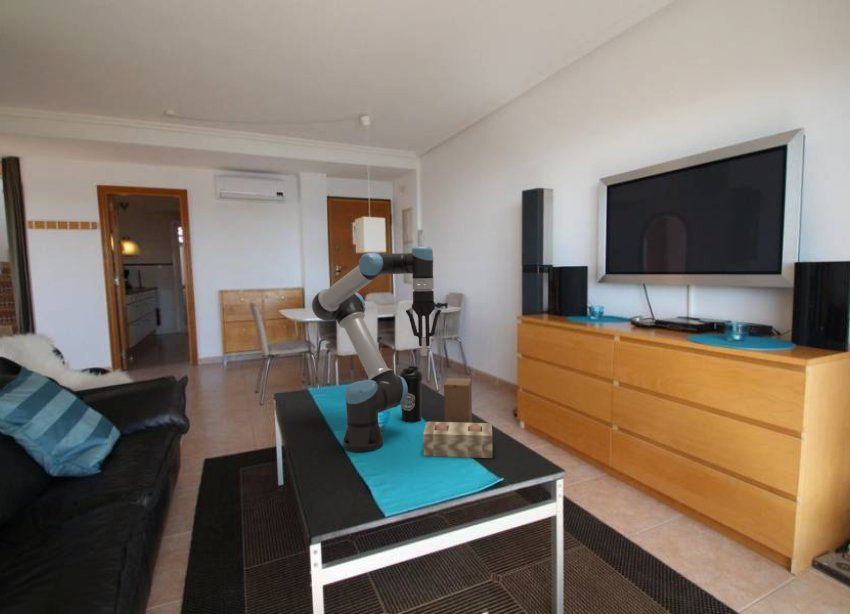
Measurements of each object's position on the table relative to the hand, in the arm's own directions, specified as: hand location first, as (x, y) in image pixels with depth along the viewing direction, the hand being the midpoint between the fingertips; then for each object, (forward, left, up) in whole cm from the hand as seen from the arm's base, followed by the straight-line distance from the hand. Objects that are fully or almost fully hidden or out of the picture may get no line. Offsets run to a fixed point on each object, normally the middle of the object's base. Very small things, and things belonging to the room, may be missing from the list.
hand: (424, 355), depth 159 cm
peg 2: (+18, -2, -34) cm, 38 cm away
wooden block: (+11, +18, -35) cm, 41 cm away
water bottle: (-10, +28, -35) cm, 46 cm away
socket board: (+12, -2, -34) cm, 36 cm away
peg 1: (+6, -2, -34) cm, 34 cm away
